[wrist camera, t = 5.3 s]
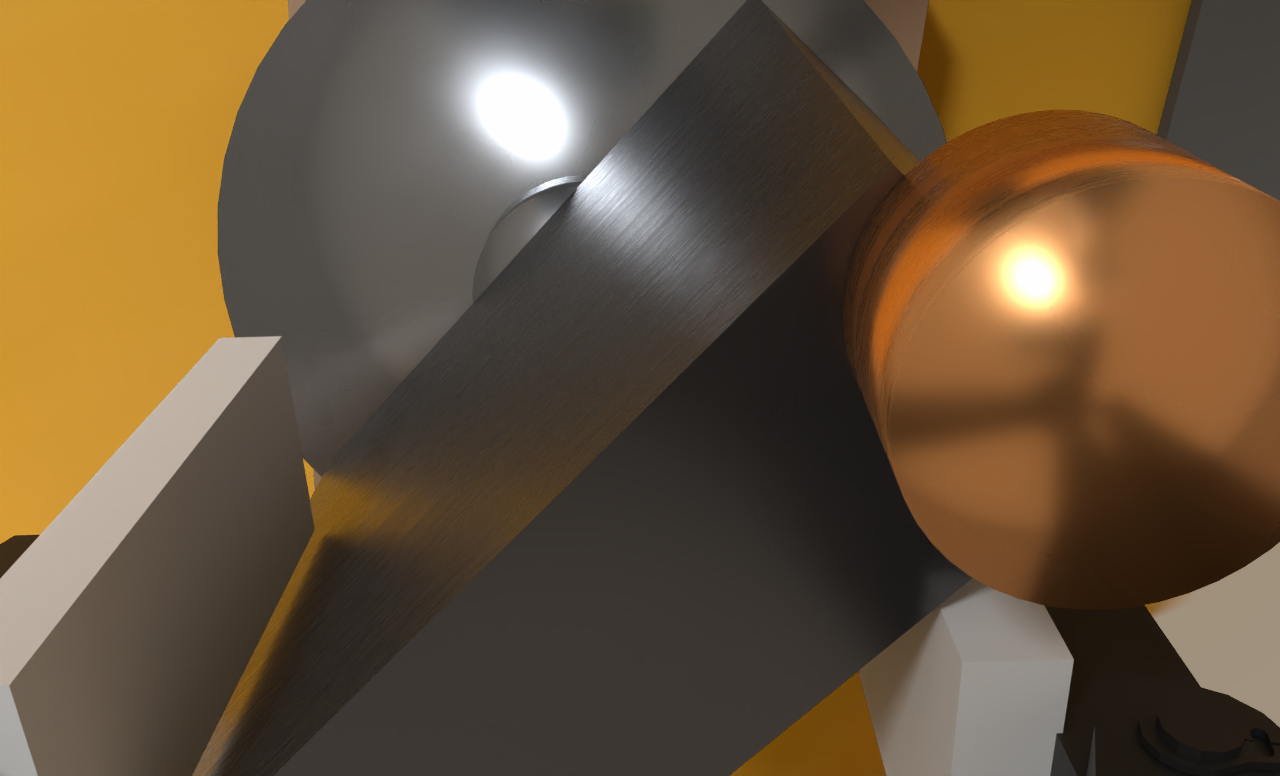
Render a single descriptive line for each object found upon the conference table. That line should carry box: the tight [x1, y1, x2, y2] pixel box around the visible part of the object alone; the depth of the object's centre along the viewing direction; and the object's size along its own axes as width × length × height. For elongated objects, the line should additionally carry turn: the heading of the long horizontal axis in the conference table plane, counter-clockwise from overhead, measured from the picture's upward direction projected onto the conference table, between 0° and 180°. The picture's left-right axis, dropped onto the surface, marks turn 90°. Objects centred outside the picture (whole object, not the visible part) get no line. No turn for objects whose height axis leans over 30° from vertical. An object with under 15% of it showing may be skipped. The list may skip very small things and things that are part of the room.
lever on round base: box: [192, 0, 1280, 776], centre depth 13 cm, size 12×12×13 cm
